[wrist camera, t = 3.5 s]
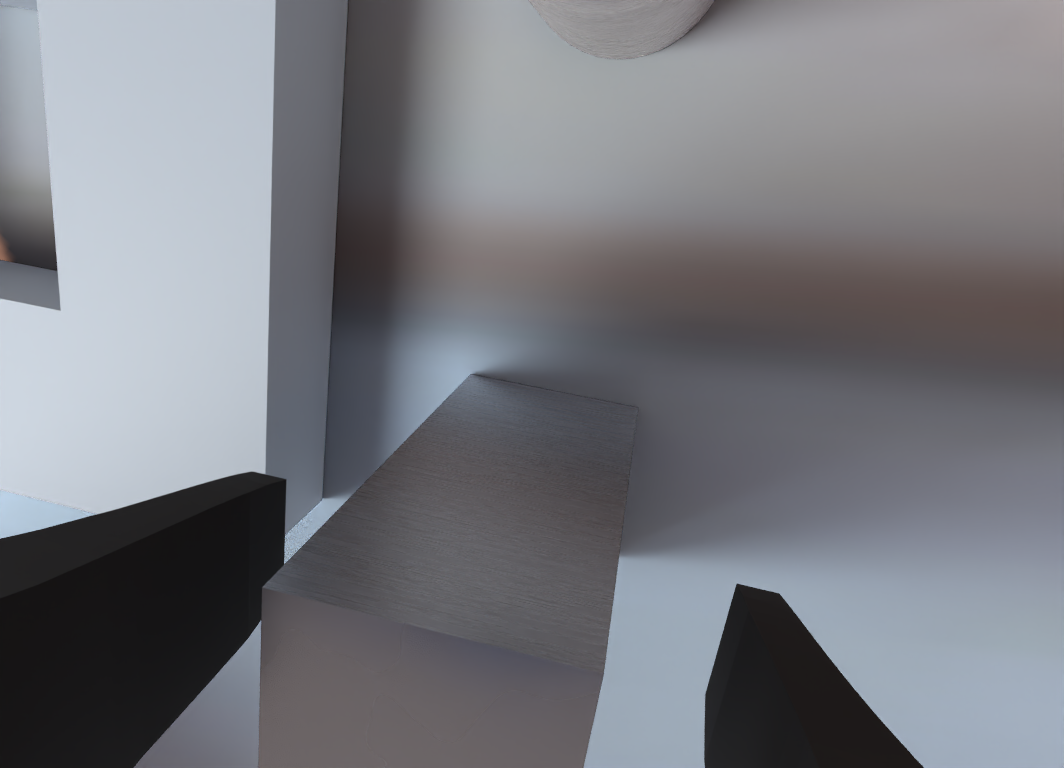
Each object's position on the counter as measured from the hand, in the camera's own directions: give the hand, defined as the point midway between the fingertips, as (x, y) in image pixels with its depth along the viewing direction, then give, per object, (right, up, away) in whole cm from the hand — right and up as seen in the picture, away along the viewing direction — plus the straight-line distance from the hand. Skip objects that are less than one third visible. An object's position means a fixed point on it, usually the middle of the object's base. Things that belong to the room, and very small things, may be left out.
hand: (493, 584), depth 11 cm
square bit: (+1, +1, +4) cm, 5 cm away
